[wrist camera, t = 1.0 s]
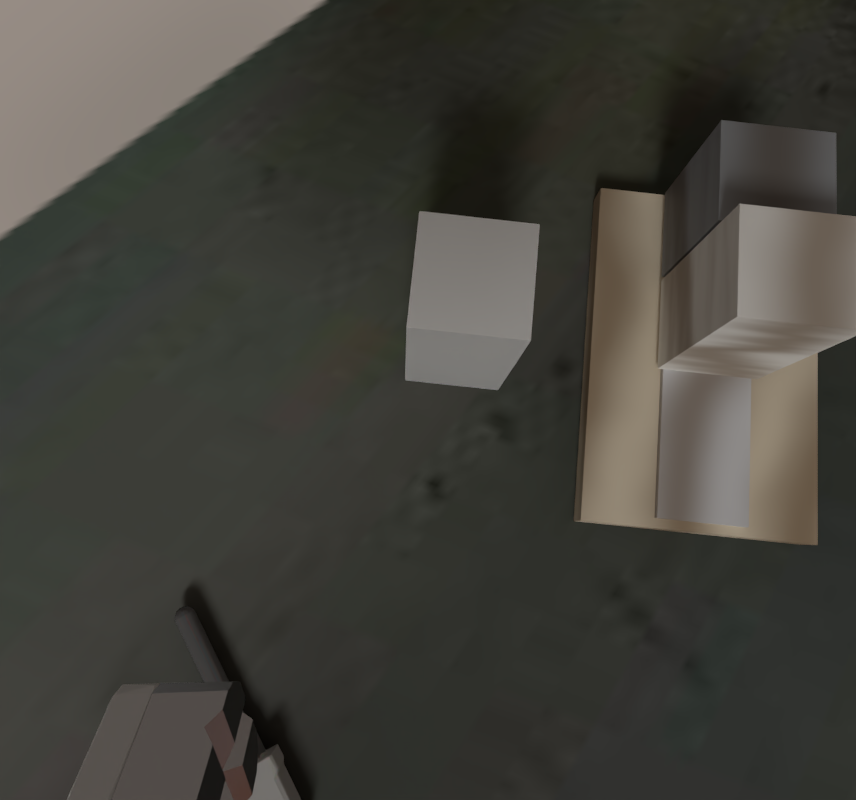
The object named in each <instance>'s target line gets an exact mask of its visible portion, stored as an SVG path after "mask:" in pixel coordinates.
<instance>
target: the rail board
mask: <svg viewBox="0 0 856 800" xmlns="http://www.w3.org/2000/svg"><path fill="white" fill-rule="evenodd" d="M854 336H856V216H847V215H838V214H837V196H836V133H832V132H823V131H814V130H805V129H796V128H788V127H779V126H770V125H761V124H753V123H744V122H735V121H726V120H721V121H720V122H719V124H718V125H717V126H716V128H715V129H714V130H713V131H712V133H711V134H710V135H709V137H708V138H707V139H706V141H705V142H704V143H703V144H702V146H701V147H700V148H699V150H698V151H697V152H696V154H695V155H694V156H693V157H692V159H691V160H690V161H689V163H688V164H687V165H686V167H685V168H684V169H683V170H682V172H681V173H680V174H679V176H678V177H677V178H676V180H675V181H674V182H673V183H672V185H671V186H670V187H669V189H668V190H667V191H666V193H665V195H660V194H651V193H642V192H633V191H624V190H615V189H606V188H601V189H600V190H599V192H598V194H597V196H596V197H595V199H594V204H593V220H592V236H591V252H590V268H589V284H588V300H587V316H586V332H585V348H584V364H583V380H582V396H581V412H580V428H579V444H578V460H577V476H576V492H575V508H574V521H578V522H588V523H598V524H607V525H617V526H626V527H636V528H646V529H655V530H665V531H674V532H684V533H694V534H703V535H713V536H723V537H732V538H742V539H751V540H761V541H771V542H780V543H790V544H800V545H818V352H820V351H823V350H825V349H827V348H829V347H832V346H834V345H836V344H838V343H841V342H843V341H845V340H848V339H850V338H852V337H854Z"/></svg>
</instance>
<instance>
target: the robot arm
mask: <svg viewBox="0 0 856 800" xmlns="http://www.w3.org/2000/svg"><path fill="white" fill-rule="evenodd" d="M245 699H246V697H245V694H244V691H243V689H242V686H241V683H240V681H233V682H187V683H149V684H125V685H122V686H121V687H120V688H119V690H118V691H117V692H116V693H115V694H114V695H113V697H112V698H111V701H110V703H109V705H108V707H107V710H106V712H105V714H104V716H103V719H102V721H101V723H100V725H99V728H98V730H97V732H96V734H95V737H94V739H93V741H92V743H91V746H90V748H89V750H88V753H87V755H86V757H85V759H84V762H83V764H82V766H81V768H80V771H79V773H78V775H77V777H76V780H75V782H74V784H73V786H72V789H71V791H70V793H69V796H68V798H67V800H248V799H249V798H250V797H251V796H252V794H253V789H254V784H255V779H256V774H257V761H258V741H257V732H256V728H255V725H254V722H253V719H252V718H250V717H249V716H247V715H246V714H244V713H243V712H242V711H243V707H244V703H245Z"/></svg>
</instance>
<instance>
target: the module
mask: <svg viewBox="0 0 856 800" xmlns="http://www.w3.org/2000/svg"><path fill="white" fill-rule="evenodd" d="M539 228H540V224H532V223H523V222H514V221H505V220H496V219H487V218H478V217H469V216H460V215H451V214H442V213H433V212H424V211H419V219H418V228H417V237H416V246H415V255H414V264H413V273H412V282H411V291H410V300H409V309H408V318H407V327H406V366H405V380H408V381H418V382H427V383H436V384H446V385H455V386H464V387H474V388H483V389H492V390H498V389H499V388H500V386H501V385H502V383H503V382H504V380H505V379H506V377H507V376H508V374H509V373H510V371H511V370H512V368H513V367H514V365H515V364H516V362H517V361H518V359H519V358H520V356H521V355H522V353H523V352H524V350H525V349H526V347H527V346H528V344H529V343H530V341H531V331H532V318H533V305H534V292H535V279H536V266H537V254H538V241H539Z"/></svg>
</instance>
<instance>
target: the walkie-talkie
mask: <svg viewBox="0 0 856 800" xmlns="http://www.w3.org/2000/svg"><path fill="white" fill-rule="evenodd" d="M175 622H176V624H177V626H178V629H179V631H180V633H181V635H182V637H183V639H184V641H185V643H186V645H187V647H188V650H189V652H190V654H191V656H192V658H193V660H194V662H195V664H196V666H197V668H198V671H199V673H200V675H201V677H202V679H203V681H204V682H229V680H228V678H227V676H226V674H225V672H224V670H223V668H222V666H221V664H220V662H219V659H218V657H217V655H216V653H215V651H214V649H213V647H212V645H211V643H210V641H209V639H208V637H207V635H206V633H205V631H204V629H203V626H202V624H201V622H200V620H199V618H198V616H197V614H196V612H195V610H194V609H193V608H191V607H189V606H185V607H182V608H180V609H179V610H178V611H177V612H176V615H175ZM242 712H243V713H244V711H242ZM244 714H245V713H244ZM256 732H257V731H256ZM257 741H258V761H257V774H256V779H255V784H254V789H253V794H252V796H251V797H250V798H249V799H248V800H301V798H300V796H299V794H298V792H297V790H296V788H295V786H294V783H293V781H292V779H291V777H290V775H289V773H288V771H287V769H286V767H285V765H284V755H283V753H282V752H281V750H280V748H279V746H278V744H276V745H274V746H273V747H271V748H269V749H267V750H266V749H265V748H264V746H263V743H262V741H261V739H260V737H259V735H258V733H257Z"/></svg>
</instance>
